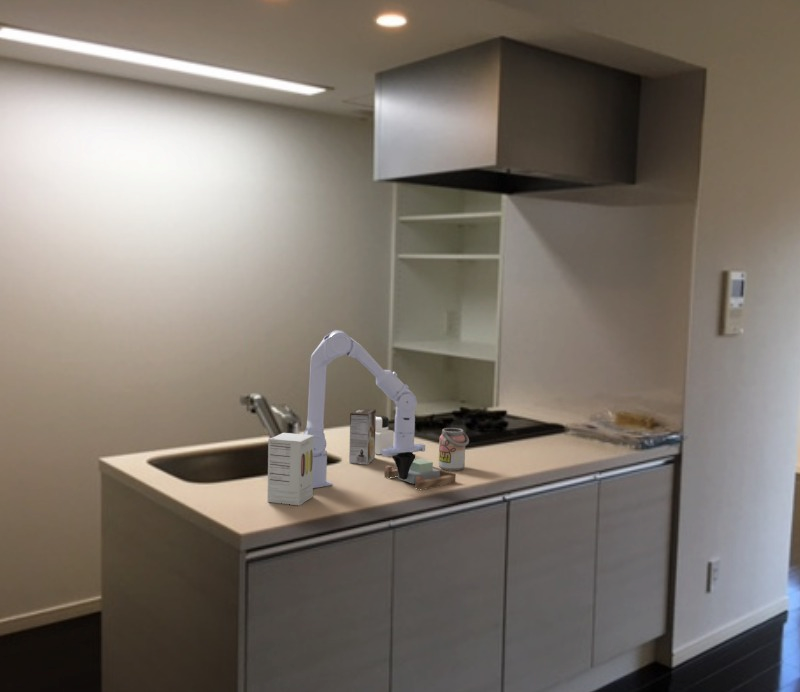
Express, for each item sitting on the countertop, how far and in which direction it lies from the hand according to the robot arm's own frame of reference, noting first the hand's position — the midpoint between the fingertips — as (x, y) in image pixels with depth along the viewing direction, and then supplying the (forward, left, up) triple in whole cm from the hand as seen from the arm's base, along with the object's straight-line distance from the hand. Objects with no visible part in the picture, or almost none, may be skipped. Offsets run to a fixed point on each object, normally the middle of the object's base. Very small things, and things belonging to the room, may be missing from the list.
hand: (403, 478), depth 229 cm
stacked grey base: (+6, 0, -1) cm, 6 cm away
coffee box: (+6, +28, -2) cm, 29 cm away
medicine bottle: (+18, +35, -2) cm, 39 cm away
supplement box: (-35, +4, -2) cm, 35 cm away
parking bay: (+6, 0, -1) cm, 6 cm away
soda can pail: (+24, +5, -2) cm, 25 cm away
